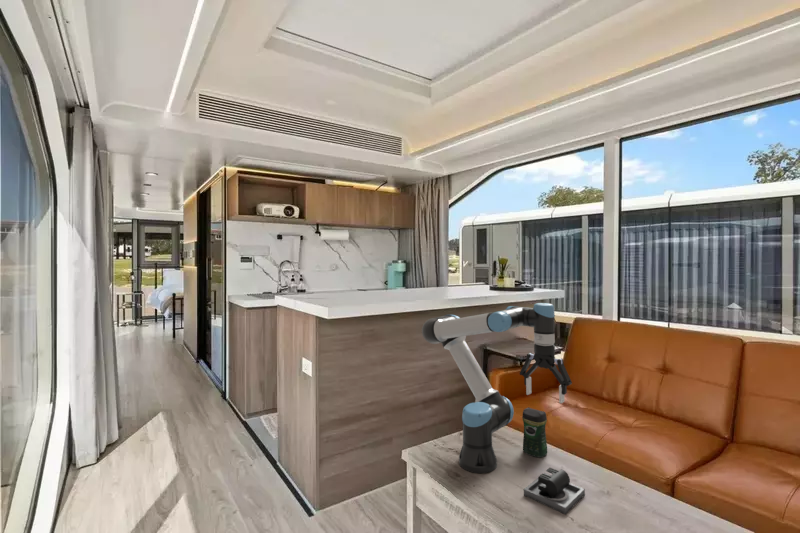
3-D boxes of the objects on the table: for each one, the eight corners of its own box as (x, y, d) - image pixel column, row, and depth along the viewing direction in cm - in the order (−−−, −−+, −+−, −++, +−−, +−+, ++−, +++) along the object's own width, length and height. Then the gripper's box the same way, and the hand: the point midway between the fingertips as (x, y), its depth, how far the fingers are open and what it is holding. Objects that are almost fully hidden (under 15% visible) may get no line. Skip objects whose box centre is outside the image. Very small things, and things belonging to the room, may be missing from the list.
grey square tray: (523, 495, 147) (523, 489, 147) (544, 478, 157) (544, 472, 157) (565, 514, 136) (565, 507, 136) (584, 494, 146) (584, 488, 146)
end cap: (557, 502, 141) (557, 483, 140) (537, 494, 146) (537, 475, 145) (570, 490, 148) (570, 471, 147) (551, 482, 153) (550, 464, 152)
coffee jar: (550, 453, 176) (549, 410, 175) (541, 460, 171) (540, 415, 170) (529, 445, 183) (528, 404, 182) (519, 452, 178) (519, 409, 177)
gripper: (510, 340, 167) (511, 392, 168) (571, 350, 149) (572, 409, 150) (520, 337, 172) (521, 388, 173) (580, 346, 154) (581, 403, 155)
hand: (544, 398), depth 162 cm, fingers open, 13 cm apart
